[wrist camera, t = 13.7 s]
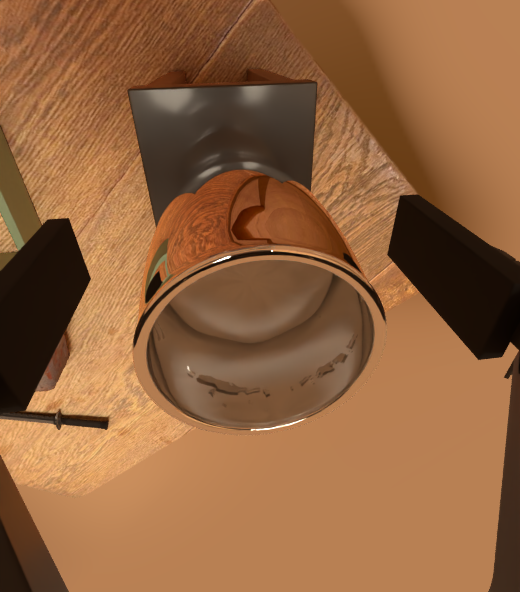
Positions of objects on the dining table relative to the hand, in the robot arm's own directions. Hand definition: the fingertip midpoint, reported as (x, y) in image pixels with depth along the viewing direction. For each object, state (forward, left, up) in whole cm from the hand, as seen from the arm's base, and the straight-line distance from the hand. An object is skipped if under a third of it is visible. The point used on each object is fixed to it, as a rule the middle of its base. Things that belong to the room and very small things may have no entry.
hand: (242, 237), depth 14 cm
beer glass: (0, 0, -9) cm, 9 cm away
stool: (0, 0, -30) cm, 30 cm away
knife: (+46, -37, -31) cm, 67 cm away
